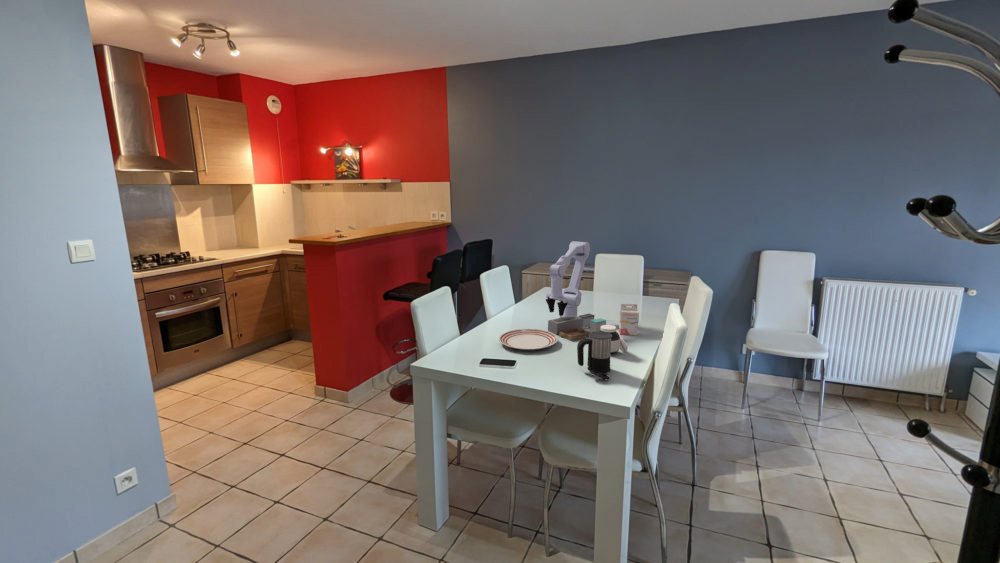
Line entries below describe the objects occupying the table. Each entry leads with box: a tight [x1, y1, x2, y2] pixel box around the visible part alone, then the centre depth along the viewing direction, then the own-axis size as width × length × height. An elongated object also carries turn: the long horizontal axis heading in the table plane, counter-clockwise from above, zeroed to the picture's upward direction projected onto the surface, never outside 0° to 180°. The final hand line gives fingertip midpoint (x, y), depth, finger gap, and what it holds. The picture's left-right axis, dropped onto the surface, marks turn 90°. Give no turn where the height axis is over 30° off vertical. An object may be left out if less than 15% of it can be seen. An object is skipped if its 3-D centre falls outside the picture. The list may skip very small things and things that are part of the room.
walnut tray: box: [558, 328, 591, 342], centre depth 231 cm, size 9×12×2 cm
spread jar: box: [599, 324, 628, 356], centre depth 209 cm, size 12×11×12 cm
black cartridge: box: [578, 313, 595, 329], centre depth 247 cm, size 4×7×6 cm, turn 123°
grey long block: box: [547, 315, 584, 336], centre depth 241 cm, size 7×17×6 cm, turn 123°
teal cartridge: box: [589, 318, 607, 333], centre depth 238 cm, size 4×7×6 cm, turn 123°
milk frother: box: [576, 332, 612, 381], centre depth 184 cm, size 14×16×15 cm
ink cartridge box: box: [618, 303, 640, 336], centre depth 234 cm, size 9×5×15 cm, turn 84°
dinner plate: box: [498, 328, 558, 351], centre depth 222 cm, size 27×27×3 cm
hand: (556, 313), depth 243 cm, fingers open, 7 cm apart
